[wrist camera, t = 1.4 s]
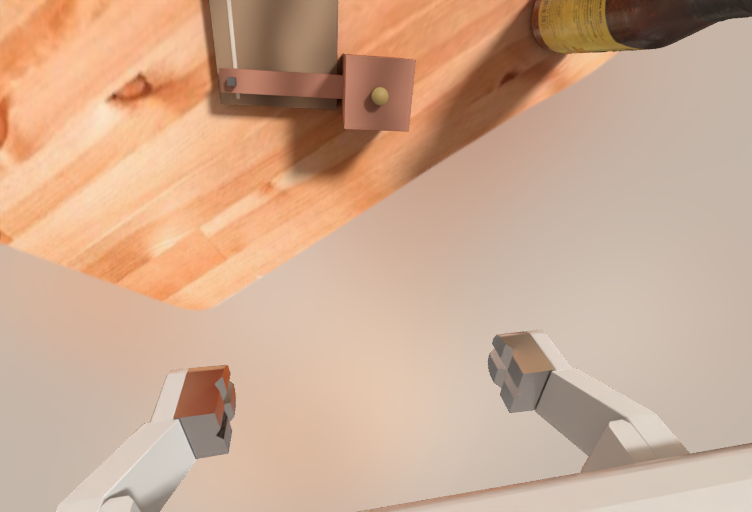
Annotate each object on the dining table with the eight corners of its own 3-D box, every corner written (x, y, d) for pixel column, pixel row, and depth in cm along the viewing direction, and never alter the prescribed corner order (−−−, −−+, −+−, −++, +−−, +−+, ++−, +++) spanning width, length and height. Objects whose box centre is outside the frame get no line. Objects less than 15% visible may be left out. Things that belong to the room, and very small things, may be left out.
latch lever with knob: (231, 107, 35) (204, 124, 27) (225, 45, 33) (193, 44, 25) (393, 116, 37) (410, 133, 29) (398, 57, 35) (418, 60, 27)
